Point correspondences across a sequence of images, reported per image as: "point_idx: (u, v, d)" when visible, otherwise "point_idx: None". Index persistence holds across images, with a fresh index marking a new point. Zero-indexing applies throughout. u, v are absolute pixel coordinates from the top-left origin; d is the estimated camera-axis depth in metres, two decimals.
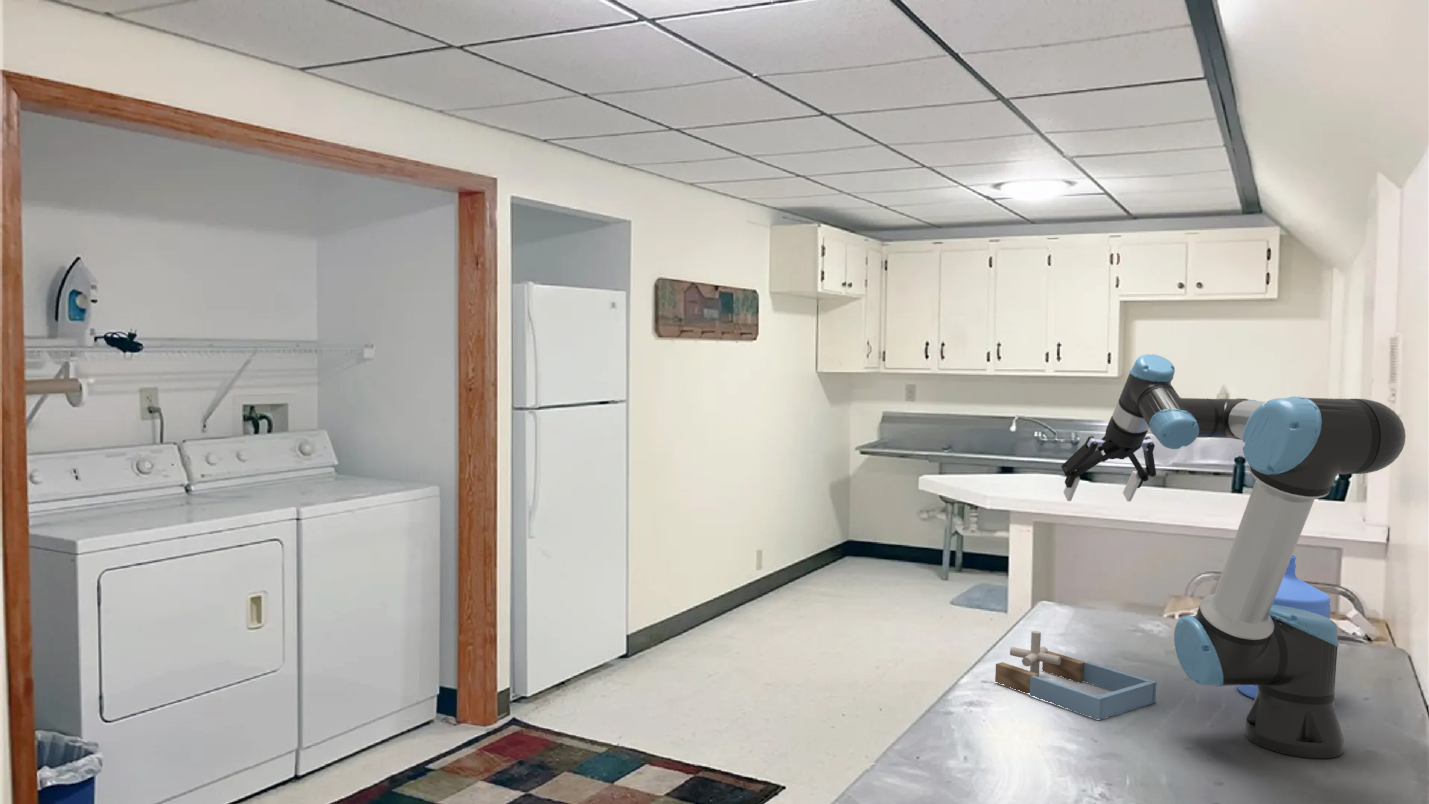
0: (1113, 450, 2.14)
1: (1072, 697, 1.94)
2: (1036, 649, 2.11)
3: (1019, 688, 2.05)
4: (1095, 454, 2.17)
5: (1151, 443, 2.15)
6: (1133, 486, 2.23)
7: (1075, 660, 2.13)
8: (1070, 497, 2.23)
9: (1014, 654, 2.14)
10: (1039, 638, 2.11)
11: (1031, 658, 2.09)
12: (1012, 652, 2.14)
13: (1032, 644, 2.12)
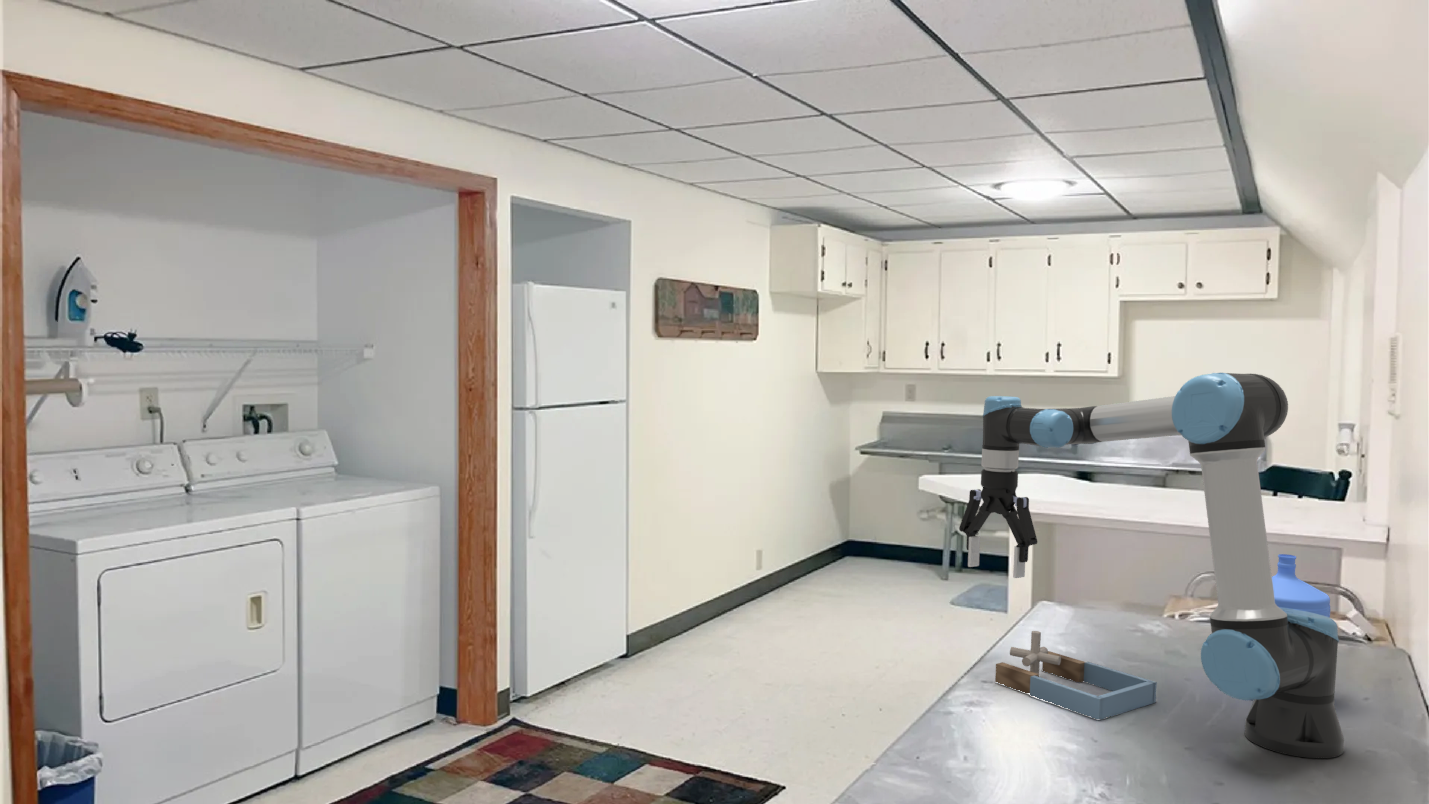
0: None
1: (1072, 697, 1.94)
2: (1036, 649, 2.11)
3: (1019, 688, 2.05)
4: None
5: (1019, 497, 2.14)
6: None
7: (1075, 660, 2.13)
8: (969, 561, 2.25)
9: (1014, 654, 2.14)
10: (1039, 638, 2.11)
11: (1031, 658, 2.09)
12: (1012, 652, 2.14)
13: (1032, 644, 2.12)
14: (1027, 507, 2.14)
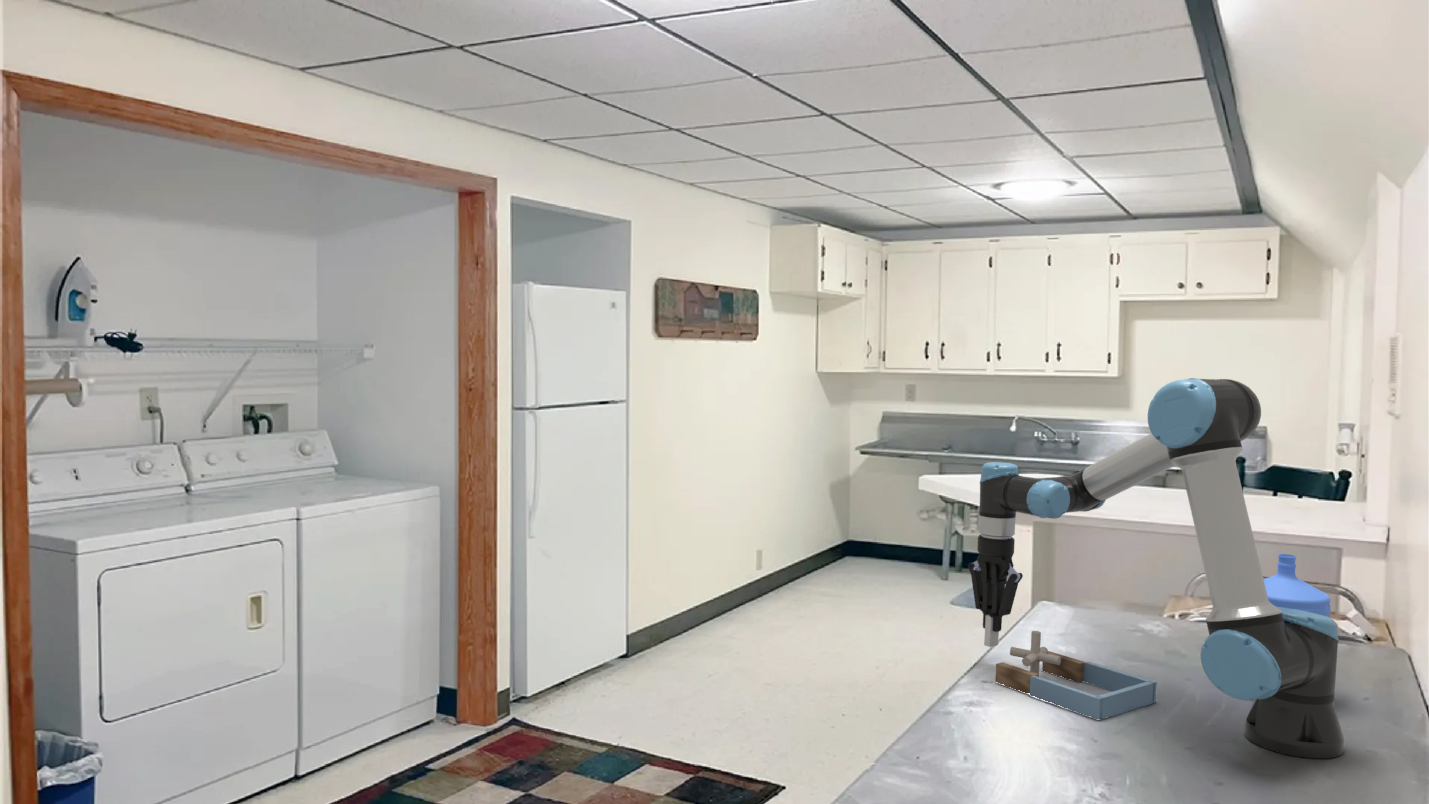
0: None
1: (1072, 697, 1.94)
2: (1036, 649, 2.11)
3: (1019, 688, 2.05)
4: None
5: (1014, 574, 2.15)
6: None
7: (1075, 660, 2.13)
8: (985, 640, 2.21)
9: (1014, 654, 2.14)
10: (1039, 638, 2.11)
11: (1031, 658, 2.09)
12: (1012, 652, 2.14)
13: (1032, 644, 2.12)
14: (1017, 582, 2.17)
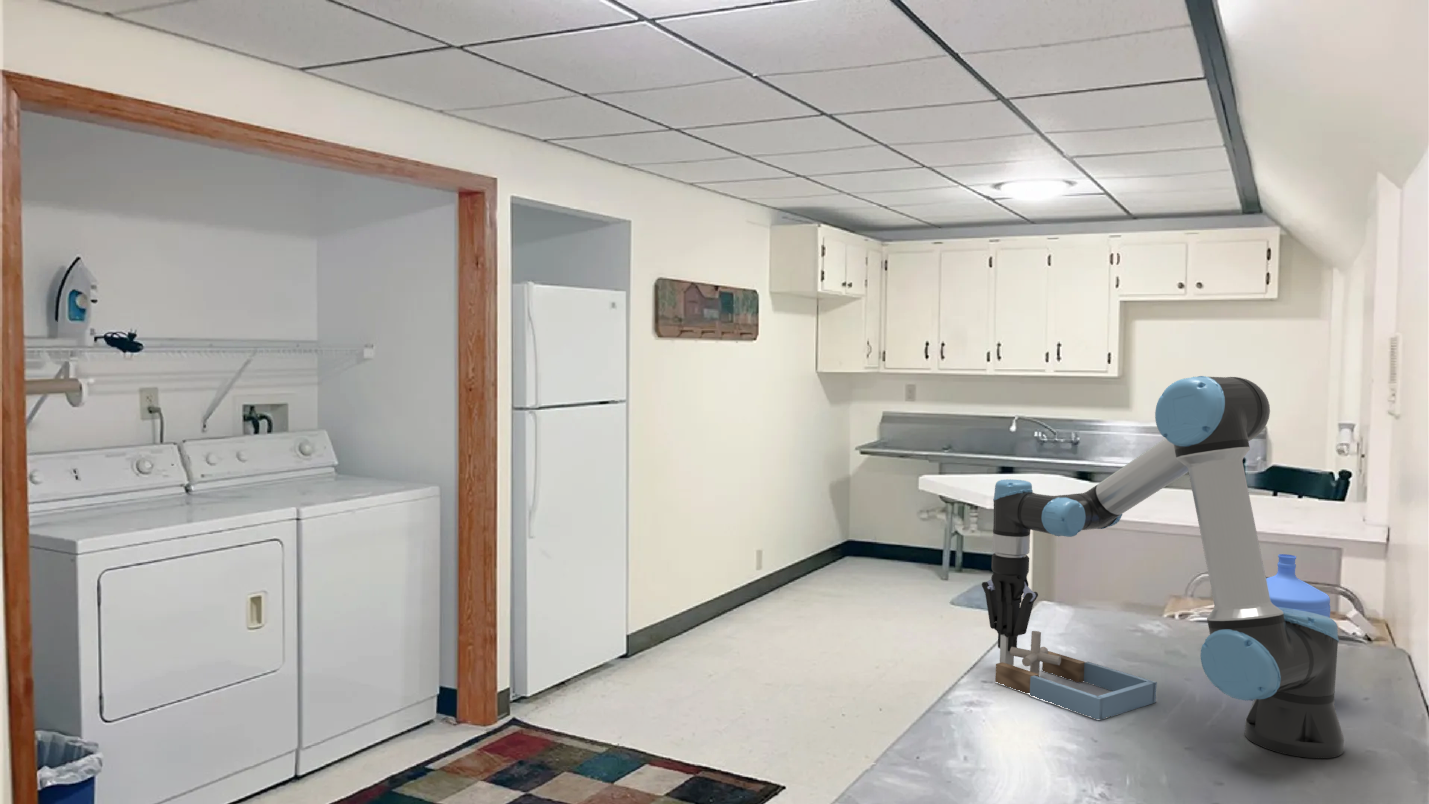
0: None
1: (1072, 697, 1.94)
2: (1036, 649, 2.11)
3: (1019, 688, 2.05)
4: None
5: (1030, 593, 2.12)
6: None
7: (1075, 660, 2.13)
8: (1000, 660, 2.18)
9: (1014, 654, 2.14)
10: (1039, 638, 2.11)
11: (1031, 658, 2.09)
12: (1012, 652, 2.14)
13: (1032, 644, 2.12)
14: (1032, 602, 2.13)
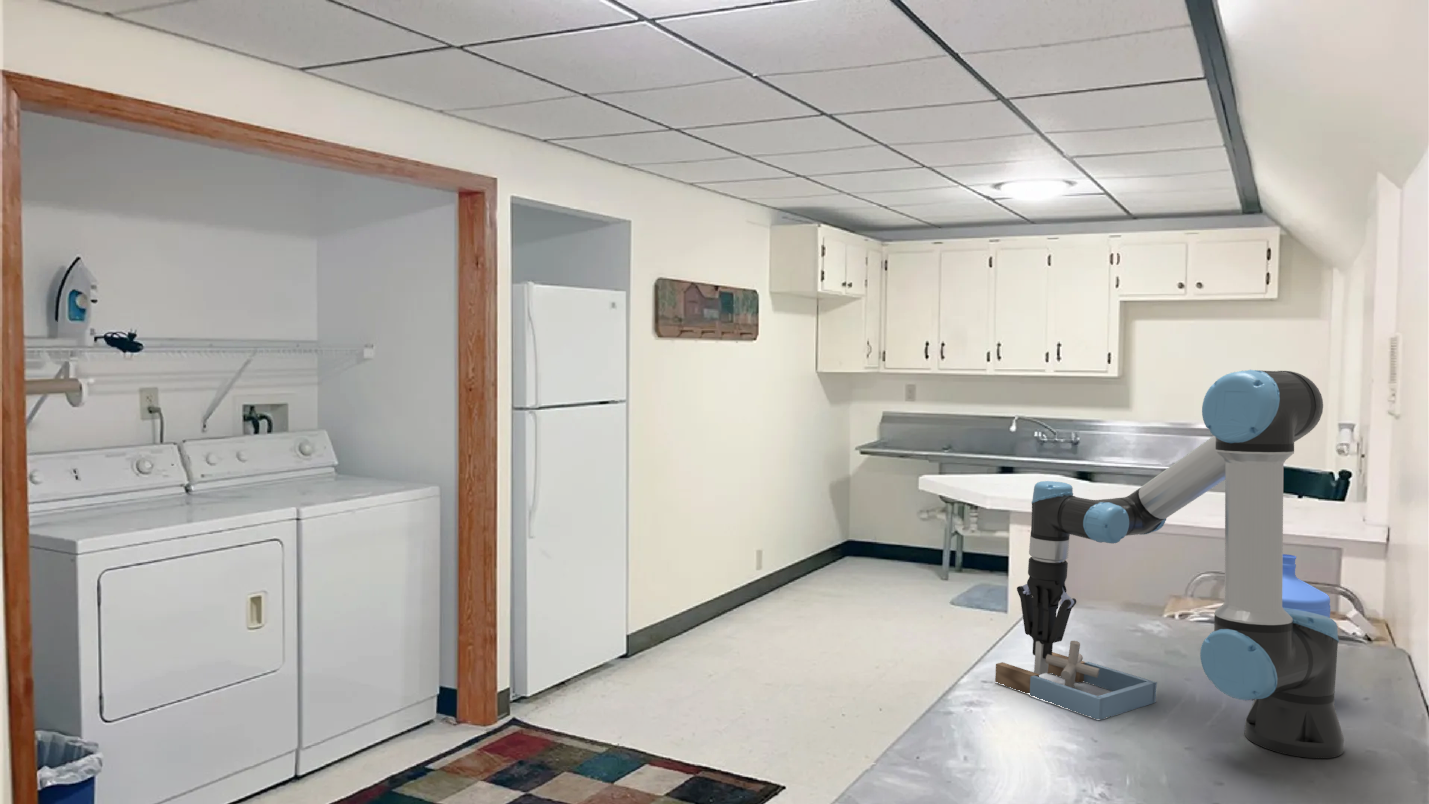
0: None
1: (1072, 697, 1.94)
2: (1074, 660, 2.04)
3: (1019, 688, 2.05)
4: None
5: (1068, 600, 2.05)
6: None
7: None
8: (1035, 668, 2.11)
9: (1050, 662, 2.07)
10: (1078, 649, 2.04)
11: (1070, 671, 2.02)
12: (1048, 660, 2.07)
13: (1070, 655, 2.05)
14: (1070, 608, 2.06)
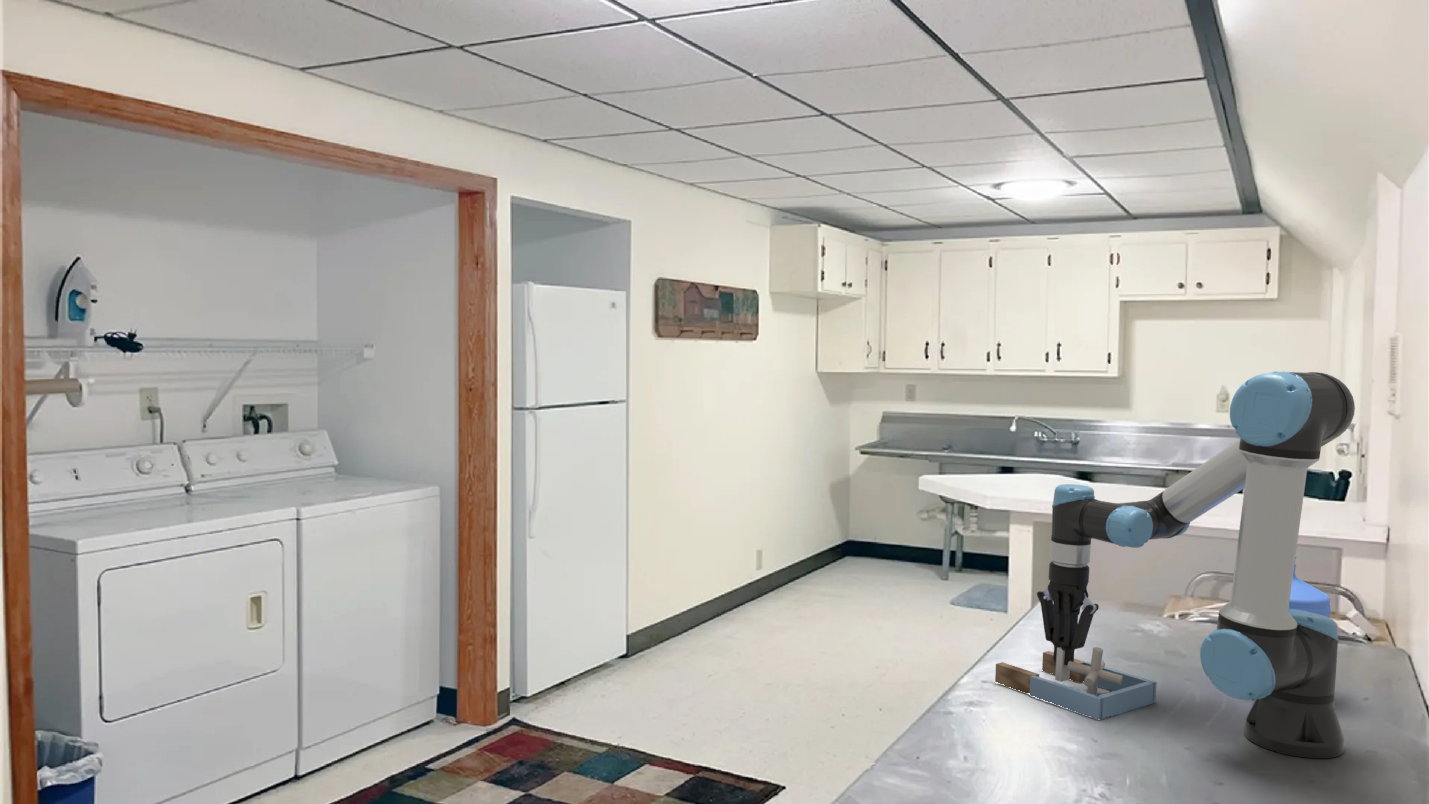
0: None
1: (1072, 697, 1.94)
2: (1097, 667, 2.00)
3: (1019, 688, 2.05)
4: None
5: (1090, 605, 2.00)
6: None
7: (1075, 660, 2.13)
8: (1056, 674, 2.06)
9: (1072, 669, 2.03)
10: (1101, 656, 2.00)
11: (1093, 678, 1.98)
12: (1070, 667, 2.03)
13: (1093, 661, 2.01)
14: (1092, 614, 2.02)
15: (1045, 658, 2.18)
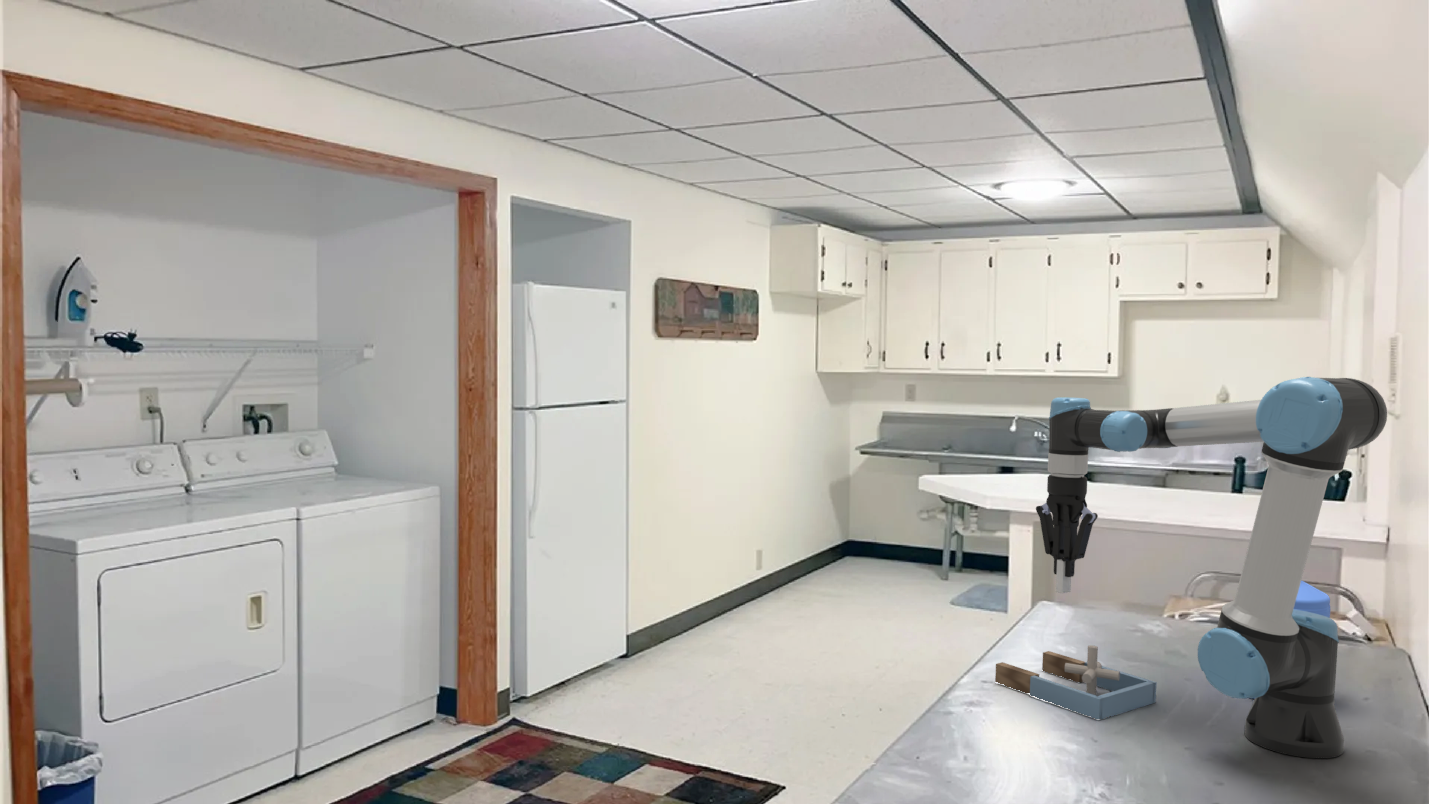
0: None
1: (1072, 697, 1.94)
2: (1094, 664, 2.01)
3: (1019, 688, 2.05)
4: None
5: (1089, 514, 2.02)
6: None
7: (1075, 660, 2.13)
8: (1057, 586, 2.08)
9: (1069, 670, 2.04)
10: (1096, 653, 2.02)
11: (1091, 674, 1.99)
12: (1067, 668, 2.04)
13: (1089, 659, 2.02)
14: (1092, 523, 2.04)
15: (1045, 658, 2.18)
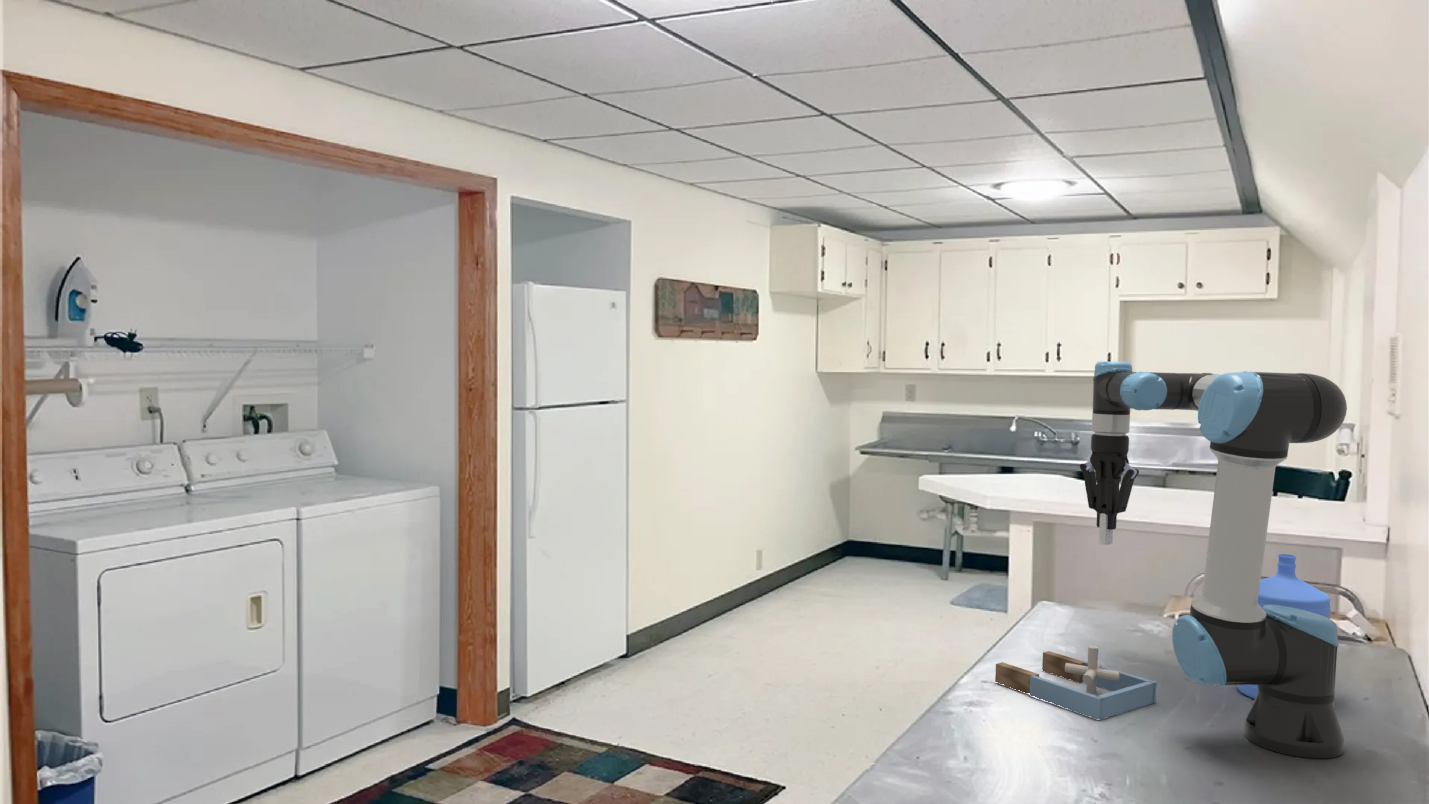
0: None
1: (1072, 697, 1.94)
2: (1094, 665, 2.01)
3: (1019, 688, 2.05)
4: None
5: (1131, 470, 2.16)
6: None
7: (1075, 660, 2.13)
8: (1100, 539, 2.22)
9: (1069, 671, 2.04)
10: (1097, 653, 2.01)
11: (1091, 675, 1.99)
12: (1067, 669, 2.04)
13: (1089, 660, 2.02)
14: (1133, 479, 2.18)
15: (1045, 658, 2.18)
